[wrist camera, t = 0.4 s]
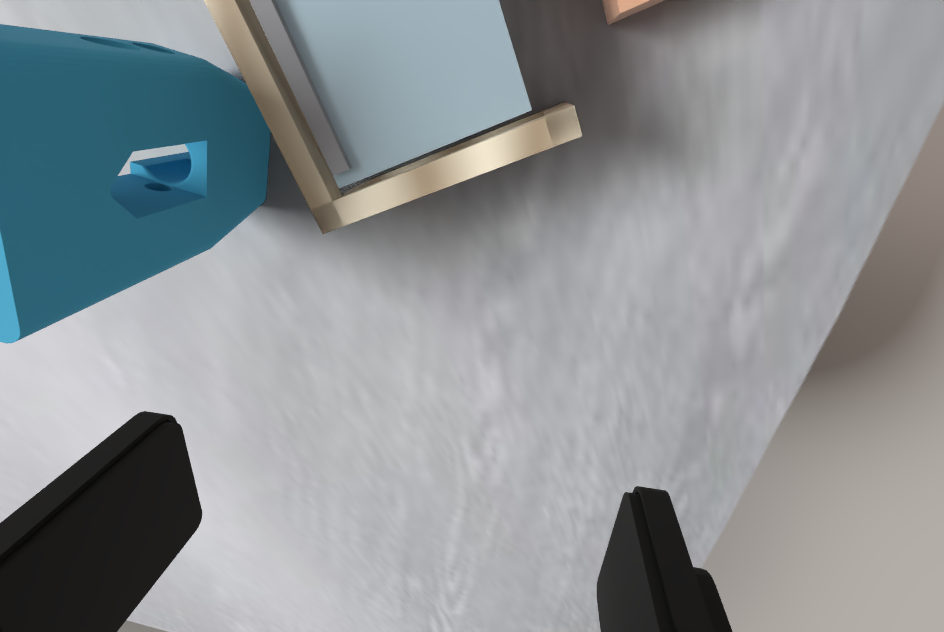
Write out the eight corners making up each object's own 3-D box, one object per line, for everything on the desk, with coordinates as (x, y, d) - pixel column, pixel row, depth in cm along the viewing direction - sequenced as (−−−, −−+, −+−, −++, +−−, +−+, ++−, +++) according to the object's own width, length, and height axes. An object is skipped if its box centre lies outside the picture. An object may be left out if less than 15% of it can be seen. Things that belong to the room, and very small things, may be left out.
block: (264, 228, 38) (23, 348, 20) (205, 211, 38) (-87, 315, 20) (275, 68, 33) (-38, 41, 15) (207, 47, 33) (-187, -5, 15)
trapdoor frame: (500, -132, 27) (482, -235, 18) (570, 124, 32) (582, 136, 24) (278, -9, 31) (179, -47, 22) (373, 200, 36) (322, 234, 28)
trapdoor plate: (460, -121, 22) (458, -136, 20) (530, 110, 26) (533, 110, 24) (248, -14, 24) (234, -21, 22) (343, 186, 27) (336, 190, 26)
